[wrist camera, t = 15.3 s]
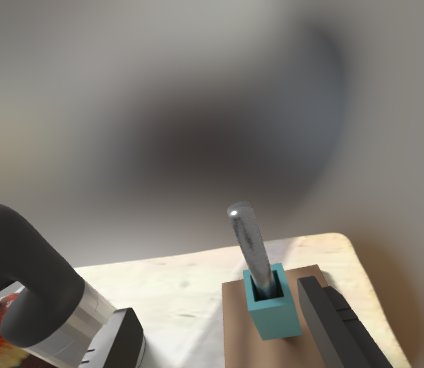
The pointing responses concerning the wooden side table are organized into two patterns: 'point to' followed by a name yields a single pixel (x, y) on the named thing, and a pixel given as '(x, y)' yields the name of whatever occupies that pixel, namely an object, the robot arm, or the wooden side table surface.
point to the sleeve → (273, 307)
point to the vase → (12, 355)
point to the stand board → (250, 338)
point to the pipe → (253, 248)
